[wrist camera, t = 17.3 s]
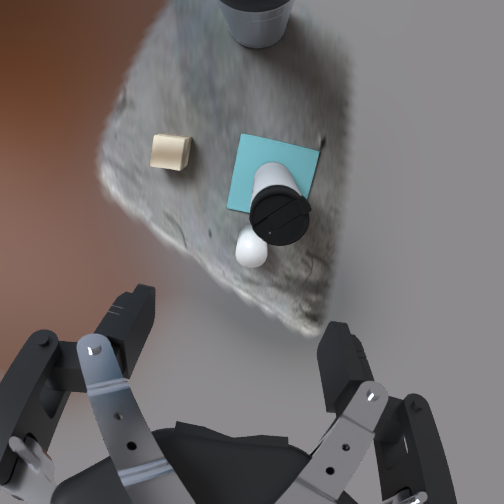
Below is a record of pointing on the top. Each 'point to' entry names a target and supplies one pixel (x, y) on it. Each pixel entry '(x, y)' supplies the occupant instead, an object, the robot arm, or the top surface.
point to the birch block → (170, 151)
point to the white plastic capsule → (250, 248)
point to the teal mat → (263, 151)
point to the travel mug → (277, 206)
